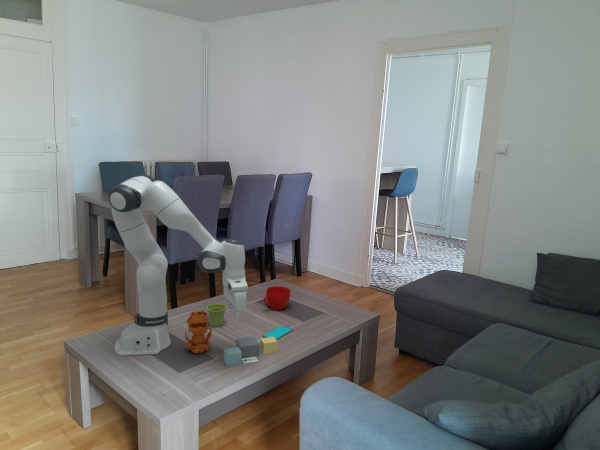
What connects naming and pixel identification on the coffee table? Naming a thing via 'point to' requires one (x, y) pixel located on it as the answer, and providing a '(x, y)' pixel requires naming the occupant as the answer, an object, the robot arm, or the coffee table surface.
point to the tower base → (248, 346)
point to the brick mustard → (268, 345)
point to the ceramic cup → (277, 297)
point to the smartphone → (278, 332)
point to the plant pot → (216, 314)
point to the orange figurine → (198, 332)
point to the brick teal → (232, 356)
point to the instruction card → (249, 360)
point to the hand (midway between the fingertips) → (234, 313)
